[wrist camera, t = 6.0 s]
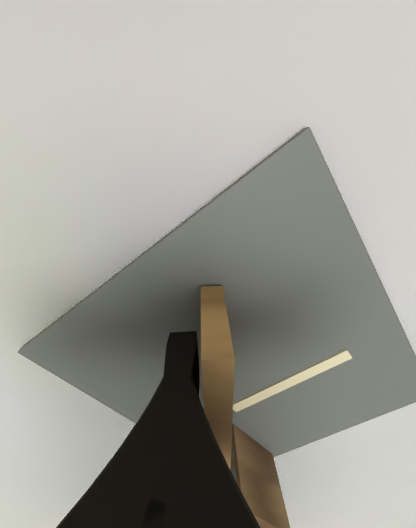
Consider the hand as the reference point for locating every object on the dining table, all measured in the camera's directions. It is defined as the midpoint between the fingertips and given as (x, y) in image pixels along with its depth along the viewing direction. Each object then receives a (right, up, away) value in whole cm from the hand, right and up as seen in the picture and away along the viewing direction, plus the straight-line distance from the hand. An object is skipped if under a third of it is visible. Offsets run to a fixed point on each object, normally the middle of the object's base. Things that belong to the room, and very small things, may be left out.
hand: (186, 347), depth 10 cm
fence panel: (+1, -1, +2) cm, 3 cm away
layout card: (+3, -3, +3) cm, 6 cm away
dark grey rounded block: (+3, -9, +6) cm, 11 cm away
